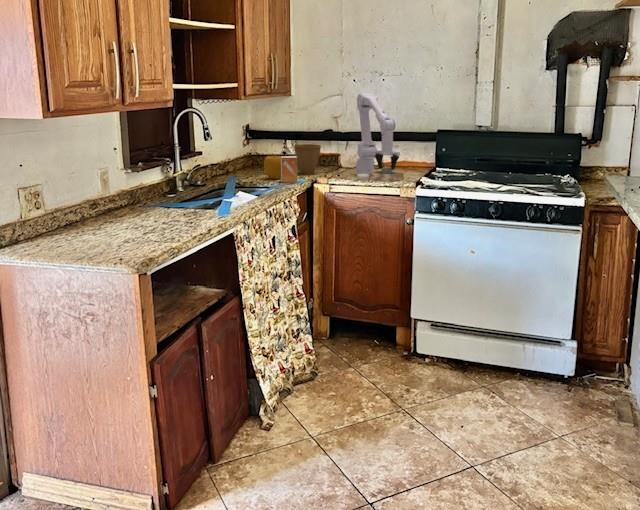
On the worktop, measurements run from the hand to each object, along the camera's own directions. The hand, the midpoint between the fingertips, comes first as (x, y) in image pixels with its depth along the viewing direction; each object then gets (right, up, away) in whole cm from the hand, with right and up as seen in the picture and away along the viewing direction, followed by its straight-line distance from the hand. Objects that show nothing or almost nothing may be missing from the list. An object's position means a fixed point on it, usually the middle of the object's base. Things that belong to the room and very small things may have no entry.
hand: (386, 169), depth 334 cm
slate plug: (0, -5, +2) cm, 6 cm away
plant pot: (-42, 0, +24) cm, 49 cm away
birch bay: (0, -5, +1) cm, 5 cm away
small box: (-51, -8, -5) cm, 52 cm away
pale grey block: (-12, -6, +1) cm, 13 cm away
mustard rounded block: (-60, -5, +5) cm, 60 cm away
